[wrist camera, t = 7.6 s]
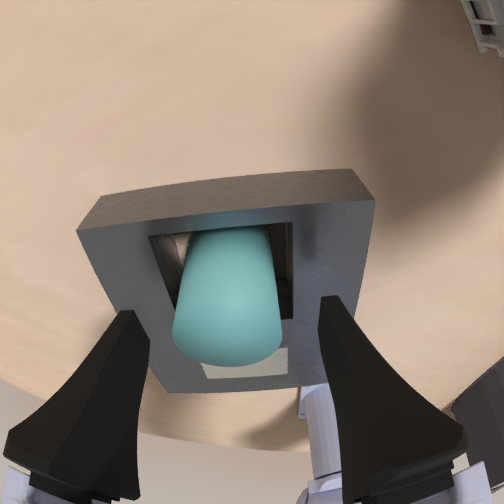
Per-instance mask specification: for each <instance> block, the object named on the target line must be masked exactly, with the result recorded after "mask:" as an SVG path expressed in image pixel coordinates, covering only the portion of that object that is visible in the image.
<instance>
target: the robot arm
mask: <svg viewBox="0 0 504 504" xmlns="http://www.w3.org/2000/svg"><path fill="white" fill-rule="evenodd" d="M317 331H318V338H319V344H320V351H321V356H322V360H323V364H324V368H325V372H326V376H327V379H328V383H326V384H319V385H311V386H303V387H301V390H300V400H299V410H298V418H299V419H305V418H307V425H308V433H309V441H310V450H311V458H312V467H313V475H314V480H313V481H308V488H306V489H304V490H303V492H302V493H301V495H300V496H299V498H298V500H297V503H296V504H493V501H492V496H491V491H490V486H489V482H488V477H487V473H486V469H485V465H484V461H480V462H478V463H476V464H474V465H472V466H470V467H468V468H466V469H464V470H462V471H460V472H458V473H456V474H454V475H452V473H451V469H453V468H454V465H453V460H454V459H455V458H457V457H459V456H460V455H462V454H464V453H465V452H467V451H468V450H469V449H470V444H469V441H468V437H467V434H466V432H465V430H464V428H463V426H462V425H461V424H459V423H458V422H456V421H455V420H453V419H452V418H450V417H449V416H447V415H446V414H444V413H443V412H441V411H440V410H439V409H438V408H436V407H435V406H434V405H432V404H431V403H430V402H428V401H427V400H426V399H425V398H424V397H423V396H421V395H420V394H419V393H418V392H417V391H416V390H414V389H413V388H412V387H411V386H410V385H409V384H408V383H407V382H406V381H405V380H404V379H403V378H402V377H401V376H400V375H399V374H398V373H397V372H396V371H395V370H394V369H393V368H392V367H391V366H390V365H389V364H388V362H387V361H386V360H385V359H384V358H383V357H382V356H381V354H380V353H379V352H378V351H377V350H376V348H375V347H374V346H373V345H372V343H371V342H370V341H369V339H368V338H367V337H366V335H365V334H364V333H363V331H362V330H361V329H360V327H359V326H358V325H357V323H356V322H355V320H354V319H353V317H352V316H351V314H350V313H349V311H348V310H347V308H346V307H345V305H344V304H343V302H342V300H341V299H340V297H339V296H338V295H332V296H323V297H321V302H320V312H319V321H318V330H317ZM149 353H150V339H149V337H148V336H147V334H146V332H145V330H144V328H143V326H142V325H141V323H140V321H139V319H138V317H137V315H136V313H135V311H134V310H121V311H120V312H119V313H118V314H117V316H116V317H115V318H114V320H113V321H112V323H111V324H110V325H109V327H108V328H107V330H106V331H105V332H104V334H103V335H102V337H101V338H100V339H99V341H98V342H97V343H96V345H95V346H94V348H93V349H92V350H91V352H90V353H89V354H88V356H87V357H86V358H85V359H84V361H83V362H82V363H81V365H80V366H79V367H78V369H77V370H76V371H75V372H74V373H73V375H72V376H71V377H70V378H69V379H68V380H67V381H66V383H65V384H64V385H63V386H62V387H61V388H60V389H59V390H58V391H57V392H56V393H55V394H54V395H53V396H52V397H51V398H50V399H49V400H48V401H47V402H46V403H45V404H44V405H42V406H41V407H40V408H39V409H38V410H37V411H35V412H34V413H33V414H32V415H30V416H29V417H28V418H27V419H25V420H24V421H22V422H21V423H19V424H18V425H16V426H15V427H14V428H12V429H11V430H9V433H8V436H7V440H6V444H5V448H4V452H3V455H4V457H6V458H7V459H9V460H11V461H12V462H14V463H16V464H18V465H20V466H22V467H24V468H26V469H28V470H30V471H31V474H30V475H28V474H25V473H23V472H21V471H19V470H17V469H15V468H13V467H11V466H8V467H7V473H6V477H5V483H4V489H3V495H2V503H1V504H111V500H114V501H120V498H125V499H129V500H137V499H138V498H139V497H140V496H141V495H140V489H139V479H138V467H137V429H138V416H139V409H140V403H141V398H142V393H143V388H144V383H145V378H146V373H147V368H148V363H149Z"/></svg>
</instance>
